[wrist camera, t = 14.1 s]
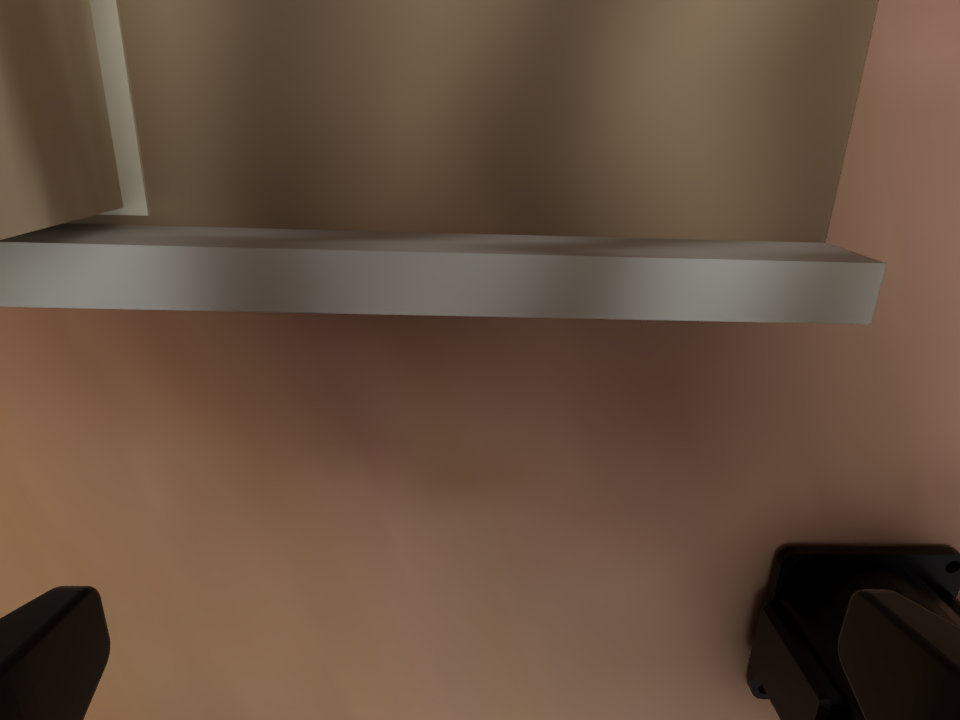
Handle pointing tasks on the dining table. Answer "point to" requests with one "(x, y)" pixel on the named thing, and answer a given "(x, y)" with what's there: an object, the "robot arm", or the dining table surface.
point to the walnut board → (469, 161)
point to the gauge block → (52, 118)
